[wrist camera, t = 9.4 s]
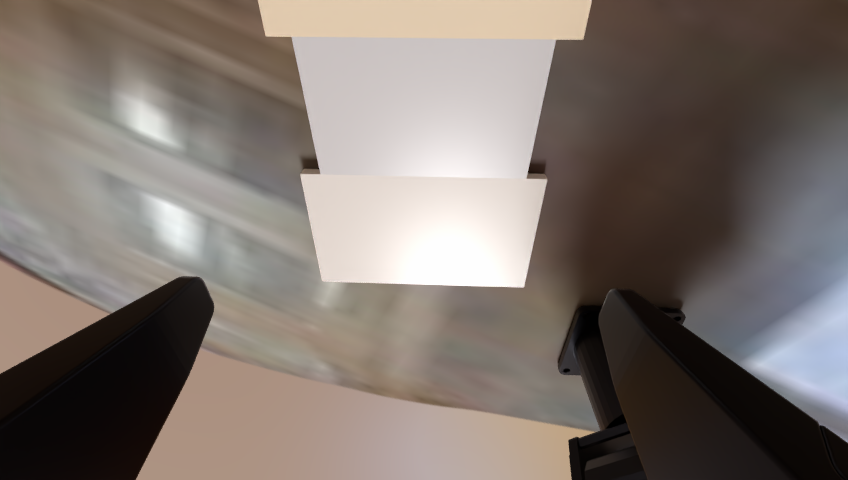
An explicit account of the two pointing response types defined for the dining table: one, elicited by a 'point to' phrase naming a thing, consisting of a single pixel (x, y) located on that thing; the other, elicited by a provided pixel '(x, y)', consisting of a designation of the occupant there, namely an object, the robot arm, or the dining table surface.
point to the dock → (424, 132)
